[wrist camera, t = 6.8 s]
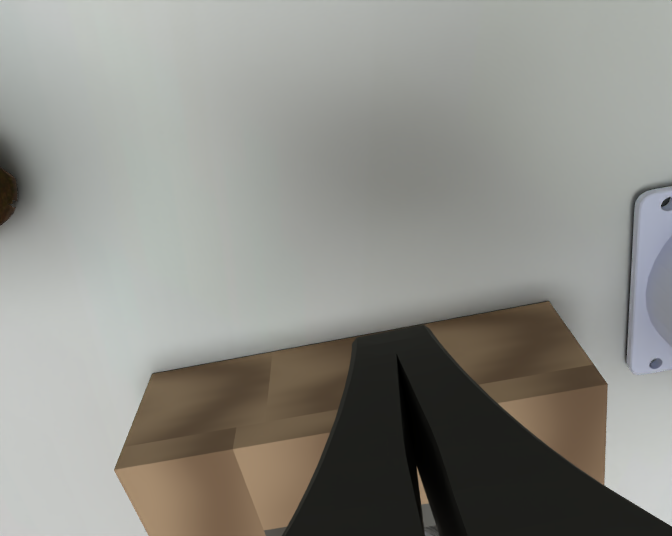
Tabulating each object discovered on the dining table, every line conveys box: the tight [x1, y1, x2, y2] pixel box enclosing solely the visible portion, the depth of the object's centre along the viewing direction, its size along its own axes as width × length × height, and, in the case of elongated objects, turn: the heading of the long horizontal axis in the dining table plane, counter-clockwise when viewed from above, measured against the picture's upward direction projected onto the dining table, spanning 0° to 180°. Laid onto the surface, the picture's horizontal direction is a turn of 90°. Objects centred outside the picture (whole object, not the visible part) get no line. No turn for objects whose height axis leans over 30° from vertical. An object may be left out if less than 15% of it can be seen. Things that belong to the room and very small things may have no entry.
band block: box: [114, 301, 608, 536], centre depth 24 cm, size 16×16×5 cm
